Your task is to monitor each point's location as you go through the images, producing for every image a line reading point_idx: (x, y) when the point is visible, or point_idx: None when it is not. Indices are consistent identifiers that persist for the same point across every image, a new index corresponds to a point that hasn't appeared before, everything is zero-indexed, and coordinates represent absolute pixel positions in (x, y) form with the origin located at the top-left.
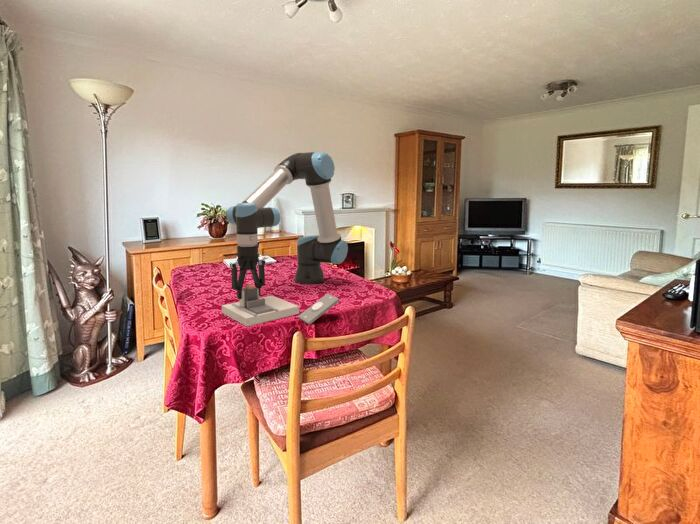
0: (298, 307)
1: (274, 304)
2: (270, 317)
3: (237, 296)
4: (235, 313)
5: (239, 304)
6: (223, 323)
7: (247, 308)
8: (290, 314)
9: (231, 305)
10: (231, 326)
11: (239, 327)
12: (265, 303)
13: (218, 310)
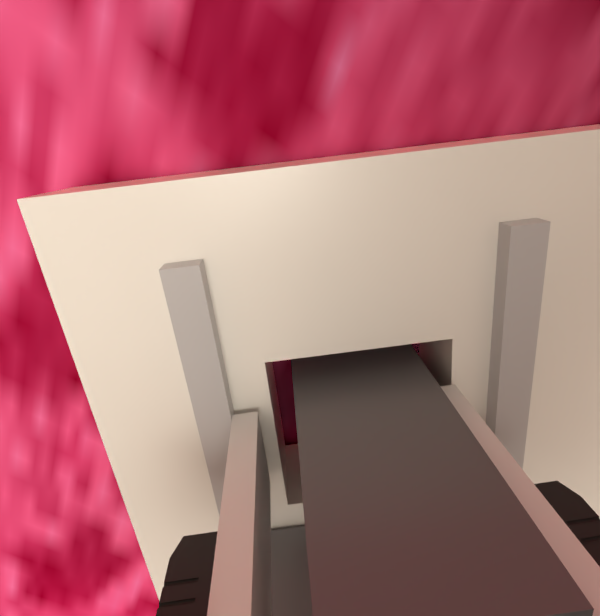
0: None
1: (594, 491)
2: None
3: (168, 588)
4: (142, 537)
5: (230, 432)
6: (47, 493)
7: (271, 560)
8: None
9: (159, 281)
10: (99, 570)
11: (150, 605)
12: (551, 417)
13: (38, 35)
